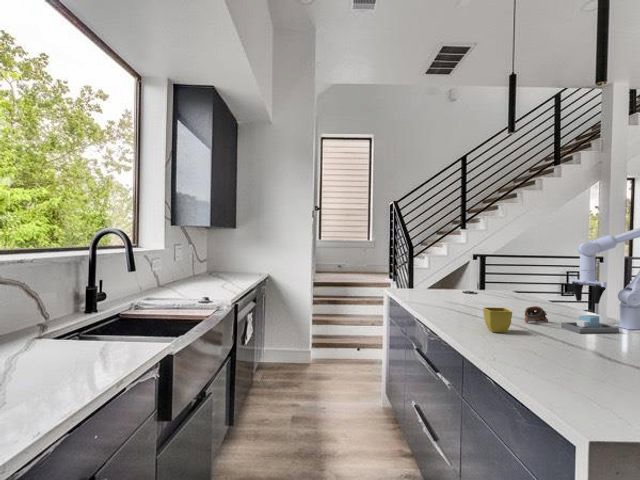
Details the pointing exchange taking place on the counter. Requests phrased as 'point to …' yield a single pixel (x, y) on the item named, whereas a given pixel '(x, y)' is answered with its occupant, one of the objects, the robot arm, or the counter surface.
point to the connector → (588, 321)
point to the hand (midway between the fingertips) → (587, 302)
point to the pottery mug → (535, 314)
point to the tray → (602, 328)
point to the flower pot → (497, 319)
